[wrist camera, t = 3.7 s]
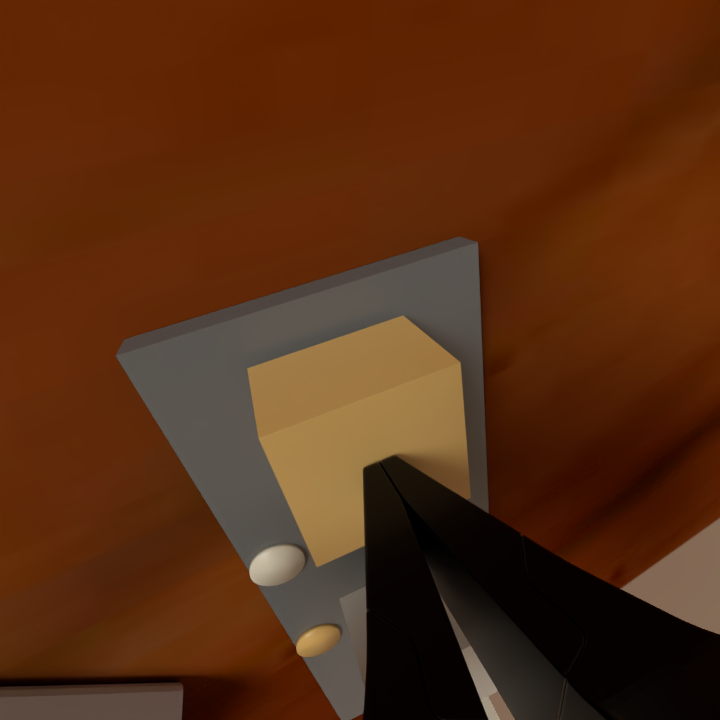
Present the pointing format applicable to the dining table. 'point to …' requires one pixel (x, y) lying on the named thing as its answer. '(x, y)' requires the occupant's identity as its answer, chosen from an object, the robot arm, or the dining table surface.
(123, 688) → the charger
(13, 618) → the dining table surface
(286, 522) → the keypad base
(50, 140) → the dining table surface
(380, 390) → the key amber
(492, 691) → the key grey
